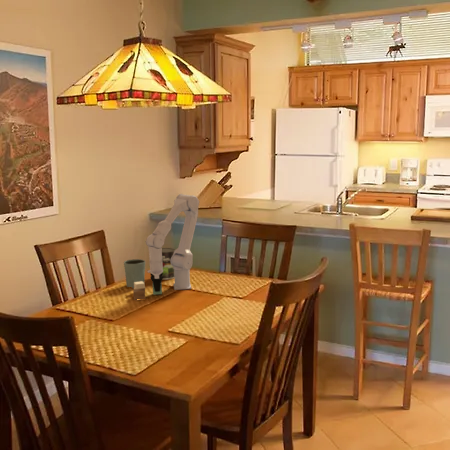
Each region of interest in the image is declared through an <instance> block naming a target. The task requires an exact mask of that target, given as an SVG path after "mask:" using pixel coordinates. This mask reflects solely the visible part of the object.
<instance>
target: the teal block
mask: <svg viewBox="0 0 450 450" xmlns="http://www.w3.org/2000/svg"><path fill="white" fill-rule="evenodd" d="M162 283H163V282H161V288H160V291H159V292H155V289H154V285H153V284H152V295H162V294H163V288H162V287H163V286H162Z"/></svg>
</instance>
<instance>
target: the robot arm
mask: <svg viewBox="0 0 450 450" xmlns="http://www.w3.org/2000/svg"><path fill="white" fill-rule="evenodd" d="M199 205H200V199H199V198H198V197H197V196H196V195H194V194H191V195H190V194H183V193H180V194H179V193H178V195H177V196H176V198H175V199H174V201H173V205H172V207H171V209H170V211H169V212H168V214H167V215H166V217H165V219H164V220H161V221H159V222H158V223H157V226H156V228H155V229H154V231H152V233H151V234H149V235H148V236H147V237H146V240H145V244H146V246H147V249H148V255H149V256H148V257H149V258H148V259H149V270H147V273H148V274H150V281H151V282H152V286H153V285H154V289H155V292H159V291H160V288H161V283H163V282H162V281H163V280H162V279H163V276H162V274H163V265H162V247H163V246H164V244H165V240H166V237H167V235H168V234H169V233H170V231H171V229H172V224H173V223H174V221H175V220H176V219H177V217H178V216H179V215H180V214H181V213H182V212H184V215H185V219H184V223H183V225H182V231H181V236H180V238H179V244H178V247H177V248H176V249H175V251H174V254H173V256H172V257H171V265H172V266H173V269H174V278H173V279H174V283H173V289H174V291H175V290H176V291H177V290H178V291H179V290H191V289H192V285H191V279H190V277H191V276H190V275H191V274H190V272H191V271H190V270H191V268H192V267H193V263H194V262H193V261H194V260H193V257H194V255H193V253H192V251H191V247H192V242H193V239H194V234H195V230H196V225H197V220H198V216H199Z"/></svg>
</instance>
